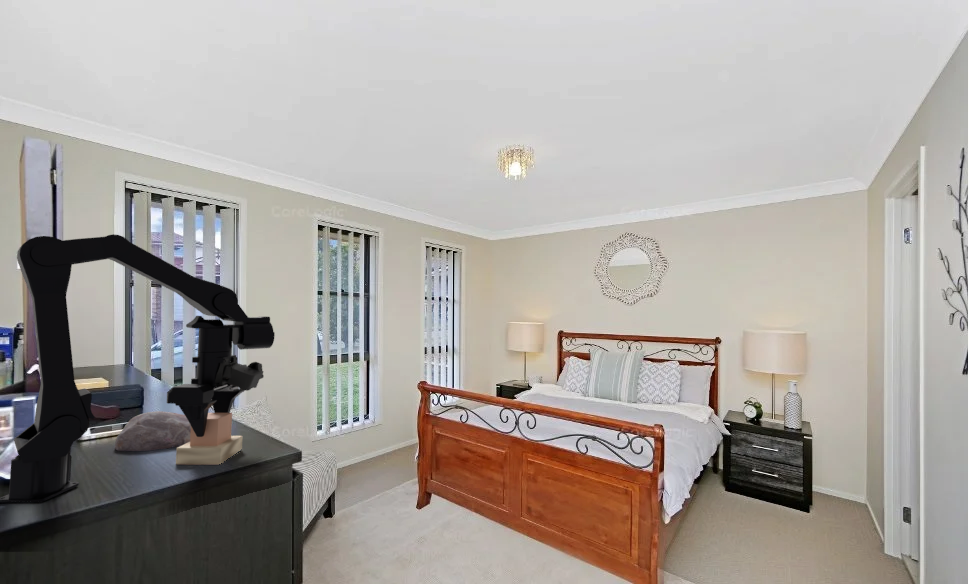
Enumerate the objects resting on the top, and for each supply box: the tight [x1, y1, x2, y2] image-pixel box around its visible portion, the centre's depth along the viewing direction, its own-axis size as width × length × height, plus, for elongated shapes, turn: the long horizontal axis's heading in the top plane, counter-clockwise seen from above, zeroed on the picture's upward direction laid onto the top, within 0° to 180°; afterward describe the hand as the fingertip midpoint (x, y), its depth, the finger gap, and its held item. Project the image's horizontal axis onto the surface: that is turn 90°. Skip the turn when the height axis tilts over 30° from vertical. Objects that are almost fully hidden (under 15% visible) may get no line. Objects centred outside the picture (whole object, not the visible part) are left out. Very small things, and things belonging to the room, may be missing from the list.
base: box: [175, 435, 243, 466], centre depth 85 cm, size 8×8×3 cm
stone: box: [114, 410, 191, 452], centre depth 94 cm, size 17×10×10 cm
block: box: [190, 412, 233, 446], centre depth 85 cm, size 5×5×5 cm
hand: (211, 431), depth 85 cm, fingers open, 7 cm apart
